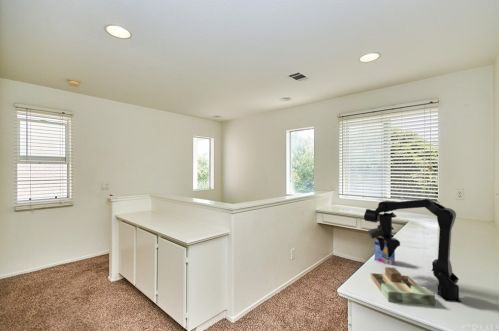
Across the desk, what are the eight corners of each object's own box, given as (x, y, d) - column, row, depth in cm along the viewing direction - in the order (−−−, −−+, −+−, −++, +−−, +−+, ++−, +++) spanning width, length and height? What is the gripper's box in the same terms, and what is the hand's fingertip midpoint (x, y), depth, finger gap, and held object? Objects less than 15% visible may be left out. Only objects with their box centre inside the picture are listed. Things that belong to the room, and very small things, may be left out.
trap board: (408, 280, 120) (408, 271, 120) (434, 305, 98) (434, 295, 98) (370, 277, 123) (370, 269, 123) (388, 301, 101) (388, 291, 101)
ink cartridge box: (374, 260, 146) (374, 237, 146) (377, 258, 149) (377, 235, 149) (391, 265, 138) (391, 241, 138) (395, 263, 142) (395, 239, 142)
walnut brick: (394, 275, 120) (394, 267, 120) (401, 282, 113) (401, 274, 113) (385, 275, 121) (385, 267, 121) (391, 281, 114) (391, 273, 114)
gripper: (363, 219, 135) (363, 246, 135) (376, 228, 116) (376, 259, 116) (384, 220, 133) (384, 247, 133) (400, 229, 115) (400, 261, 115)
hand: (385, 253), depth 124 cm, fingers open, 9 cm apart
